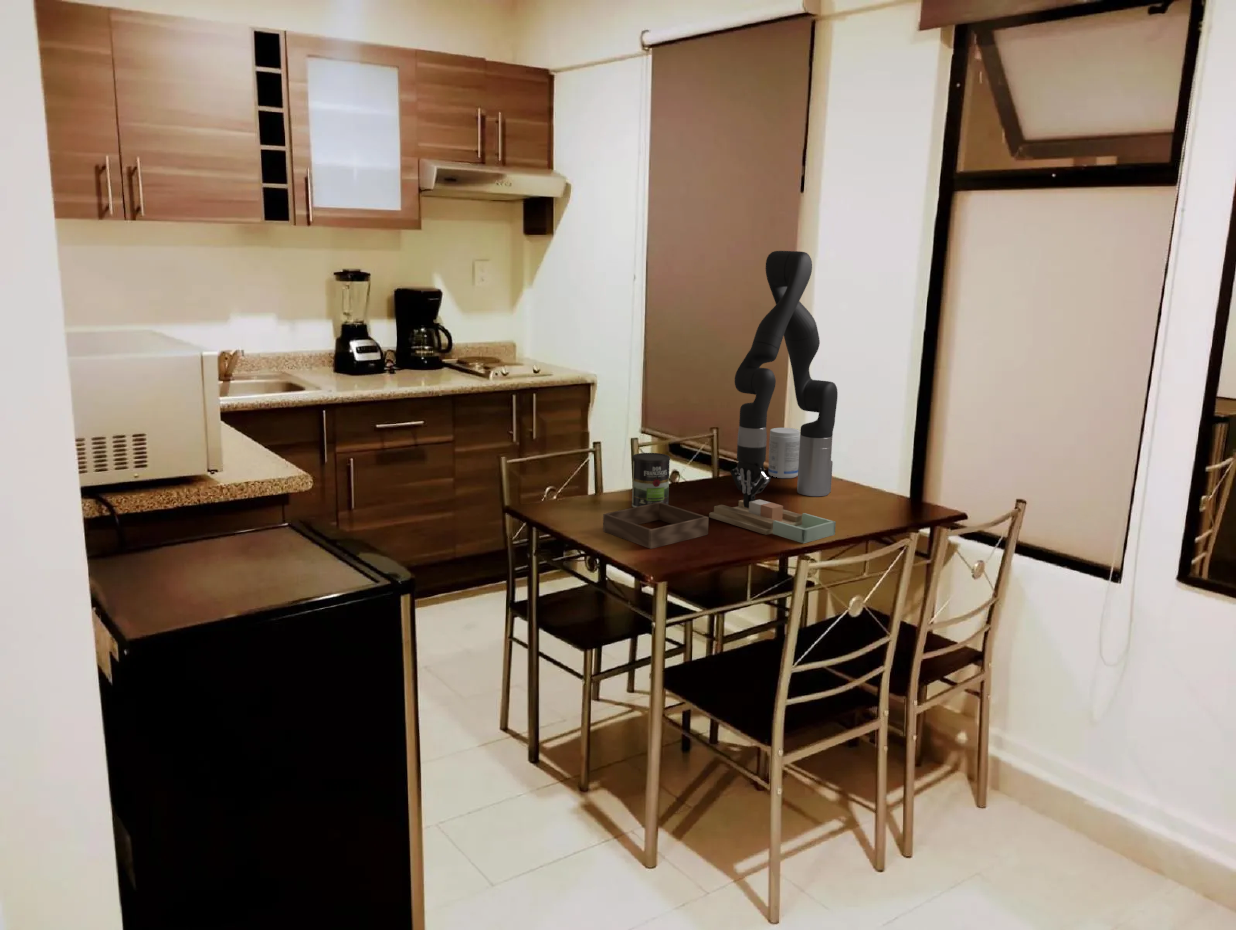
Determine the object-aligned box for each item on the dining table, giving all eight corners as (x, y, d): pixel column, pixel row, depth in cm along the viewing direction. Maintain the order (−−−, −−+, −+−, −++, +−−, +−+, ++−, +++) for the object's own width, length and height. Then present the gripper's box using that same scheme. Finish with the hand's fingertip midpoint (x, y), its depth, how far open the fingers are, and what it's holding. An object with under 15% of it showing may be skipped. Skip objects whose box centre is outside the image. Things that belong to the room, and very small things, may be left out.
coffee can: (673, 509, 258) (675, 459, 255) (638, 512, 255) (639, 461, 252) (661, 500, 268) (662, 451, 265) (627, 502, 265) (627, 453, 262)
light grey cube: (759, 513, 251) (759, 499, 250) (770, 517, 248) (771, 502, 247) (748, 516, 248) (749, 501, 247) (759, 519, 245) (760, 505, 244)
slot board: (750, 507, 261) (750, 498, 261) (807, 523, 246) (807, 513, 246) (709, 517, 251) (709, 507, 251) (765, 534, 236) (766, 524, 236)
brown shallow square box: (659, 518, 249) (659, 502, 248) (707, 534, 236) (708, 517, 235) (603, 531, 238) (603, 513, 237) (650, 548, 224) (651, 530, 223)
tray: (803, 525, 245) (804, 513, 244) (834, 534, 237) (835, 521, 236) (772, 533, 237) (773, 520, 236) (803, 543, 230) (804, 530, 229)
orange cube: (770, 517, 248) (771, 502, 247) (782, 520, 245) (783, 505, 244) (760, 519, 245) (761, 504, 244) (771, 523, 242) (772, 508, 241)
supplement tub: (799, 473, 303) (802, 428, 299) (797, 480, 294) (800, 433, 290) (769, 471, 305) (771, 426, 302) (766, 477, 296) (768, 431, 293)
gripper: (780, 446, 244) (777, 510, 248) (743, 437, 254) (740, 500, 258) (760, 449, 239) (757, 515, 243) (723, 440, 249) (720, 504, 253)
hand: (748, 507), depth 250 cm, fingers closed
